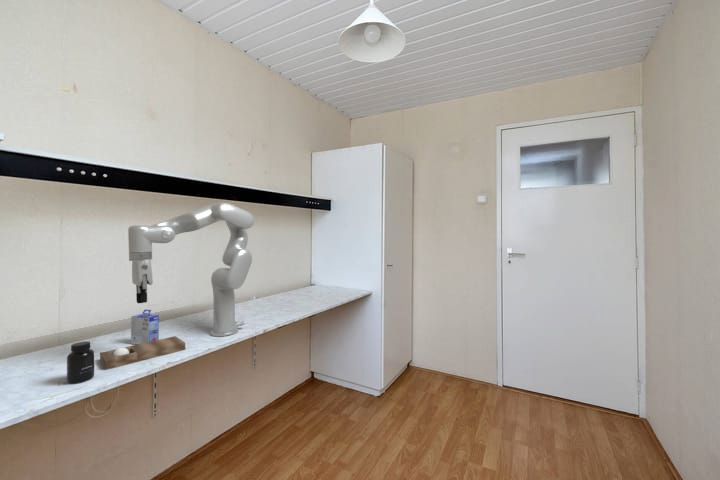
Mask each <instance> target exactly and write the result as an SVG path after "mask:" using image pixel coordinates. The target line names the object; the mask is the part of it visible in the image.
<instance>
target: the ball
mask: <svg viewBox="0 0 720 480" xmlns="http://www.w3.org/2000/svg"><path fill="white" fill-rule="evenodd" d="M116 349H117V350H115V349H114V350H115V351H114V353H113V356H114V357H117V356H121V355H125V354H129V350H128V349H126V348H124V347H119V348H116Z"/></svg>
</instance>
